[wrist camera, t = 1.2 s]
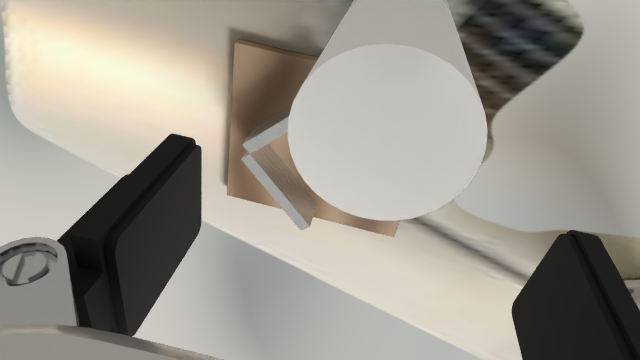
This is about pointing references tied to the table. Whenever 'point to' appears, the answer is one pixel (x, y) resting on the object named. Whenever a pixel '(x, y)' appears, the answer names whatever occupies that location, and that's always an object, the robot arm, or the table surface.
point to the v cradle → (275, 138)
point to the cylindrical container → (389, 113)
